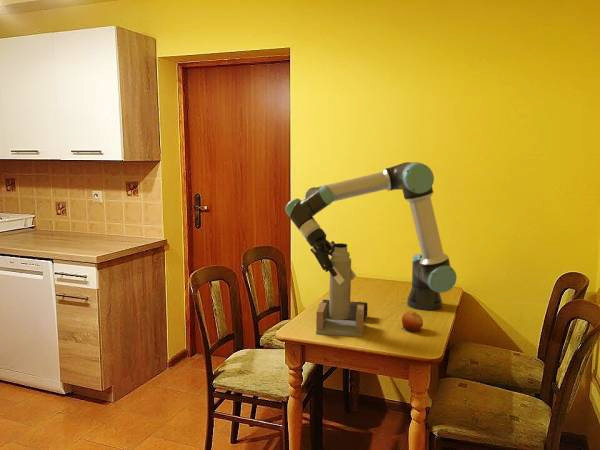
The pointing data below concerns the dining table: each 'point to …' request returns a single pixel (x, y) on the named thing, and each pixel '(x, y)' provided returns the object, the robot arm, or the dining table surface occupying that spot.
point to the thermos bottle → (340, 293)
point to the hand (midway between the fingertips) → (348, 280)
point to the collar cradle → (339, 323)
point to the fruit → (412, 321)
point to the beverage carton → (352, 309)
